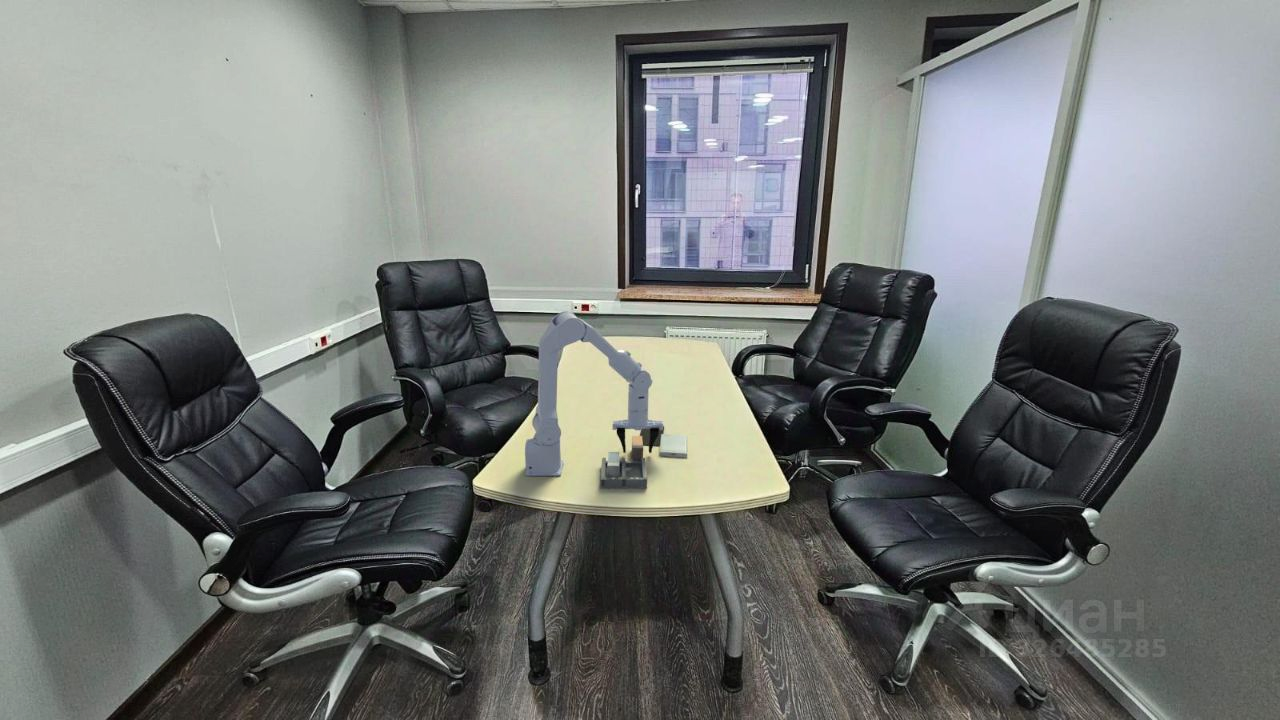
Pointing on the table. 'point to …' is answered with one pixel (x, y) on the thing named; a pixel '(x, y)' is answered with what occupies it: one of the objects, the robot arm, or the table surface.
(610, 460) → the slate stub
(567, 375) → the table surface
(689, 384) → the table surface
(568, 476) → the table surface
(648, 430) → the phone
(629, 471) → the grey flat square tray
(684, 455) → the hard drive
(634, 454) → the terracotta stub
